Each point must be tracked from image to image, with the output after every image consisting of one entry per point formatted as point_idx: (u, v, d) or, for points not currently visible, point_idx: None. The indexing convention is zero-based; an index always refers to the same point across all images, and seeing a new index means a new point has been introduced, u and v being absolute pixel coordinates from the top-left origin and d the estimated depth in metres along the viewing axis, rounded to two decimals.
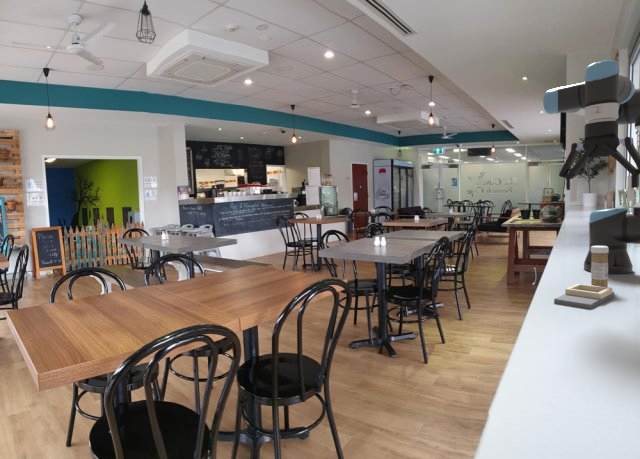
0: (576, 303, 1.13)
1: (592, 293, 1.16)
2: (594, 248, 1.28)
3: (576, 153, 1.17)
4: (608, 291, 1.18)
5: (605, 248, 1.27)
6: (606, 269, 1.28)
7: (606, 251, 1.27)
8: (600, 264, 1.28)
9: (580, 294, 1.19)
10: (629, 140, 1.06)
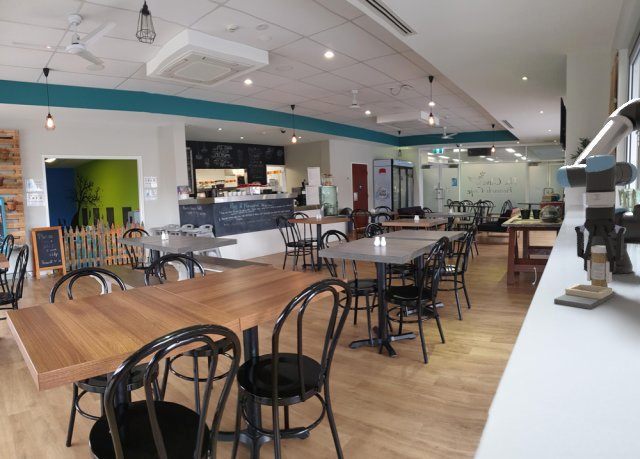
0: (576, 303, 1.13)
1: (592, 293, 1.16)
2: (594, 248, 1.28)
3: (582, 234, 1.33)
4: (608, 291, 1.18)
5: (605, 248, 1.27)
6: None
7: (606, 251, 1.27)
8: (600, 265, 1.28)
9: (580, 294, 1.19)
10: (622, 231, 1.23)
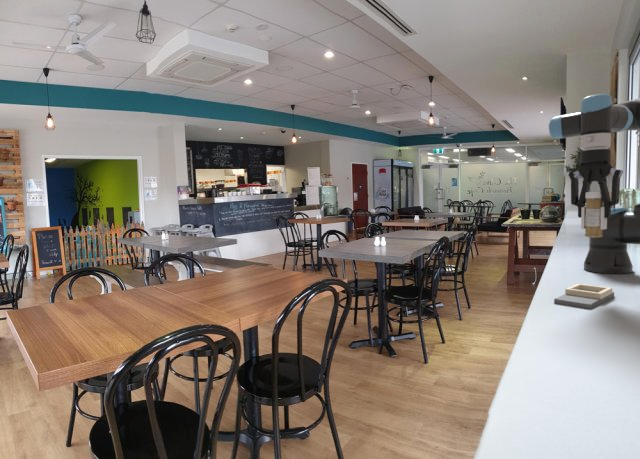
0: (576, 303, 1.13)
1: (592, 293, 1.16)
2: (588, 193, 1.23)
3: (577, 180, 1.27)
4: (608, 291, 1.18)
5: (600, 193, 1.21)
6: None
7: (601, 196, 1.21)
8: (594, 210, 1.22)
9: (580, 294, 1.19)
10: (618, 173, 1.17)
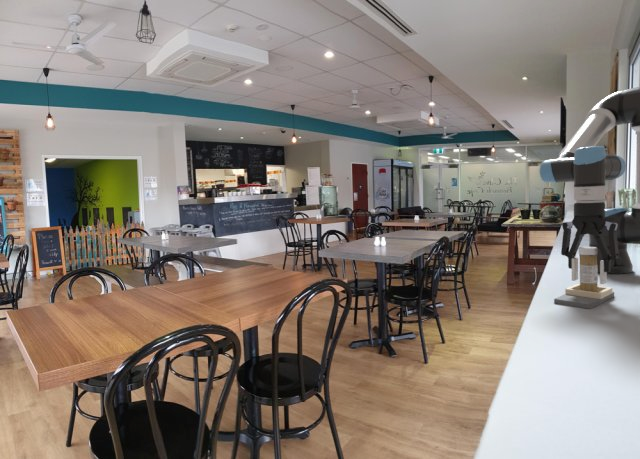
0: (576, 303, 1.13)
1: (592, 293, 1.16)
2: (582, 250, 1.19)
3: (569, 231, 1.24)
4: (608, 291, 1.18)
5: (594, 249, 1.18)
6: (595, 272, 1.18)
7: (595, 252, 1.18)
8: (589, 267, 1.18)
9: (580, 294, 1.19)
10: (614, 227, 1.14)
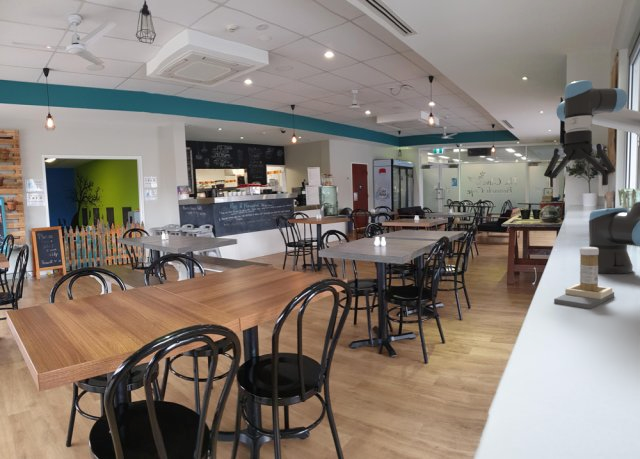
0: (576, 303, 1.13)
1: (592, 293, 1.16)
2: (583, 250, 1.19)
3: (558, 156, 1.41)
4: (608, 291, 1.18)
5: (595, 250, 1.18)
6: (596, 272, 1.18)
7: (596, 253, 1.18)
8: (589, 267, 1.18)
9: (580, 294, 1.19)
10: (600, 146, 1.30)
